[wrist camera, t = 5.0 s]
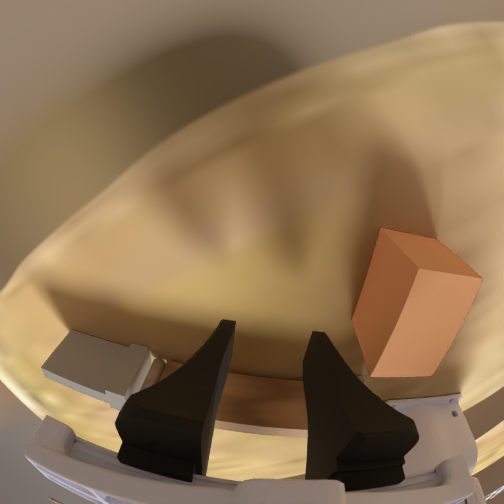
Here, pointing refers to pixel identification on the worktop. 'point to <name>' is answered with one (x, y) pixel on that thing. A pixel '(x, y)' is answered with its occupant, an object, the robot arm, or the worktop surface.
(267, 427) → the gate door
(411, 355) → the terracotta rectangular block
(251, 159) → the worktop surface
